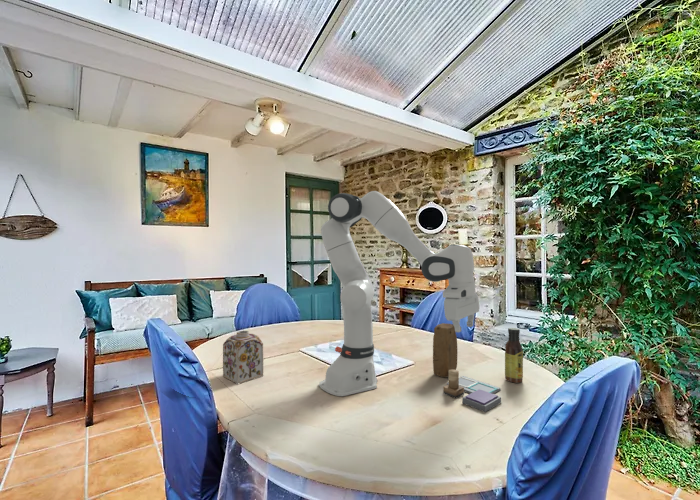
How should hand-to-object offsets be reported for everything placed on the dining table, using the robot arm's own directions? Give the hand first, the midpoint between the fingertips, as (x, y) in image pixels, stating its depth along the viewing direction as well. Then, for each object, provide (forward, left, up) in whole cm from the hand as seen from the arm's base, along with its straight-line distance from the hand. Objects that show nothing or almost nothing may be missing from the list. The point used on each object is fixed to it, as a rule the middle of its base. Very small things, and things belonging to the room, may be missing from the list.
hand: (464, 329), depth 122 cm
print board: (+6, 0, -22) cm, 23 cm away
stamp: (-4, +2, -22) cm, 23 cm away
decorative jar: (-54, +65, -23) cm, 87 cm away
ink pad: (-3, -8, -22) cm, 24 cm away
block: (+10, +15, -23) cm, 29 cm away
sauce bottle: (+24, -6, -23) cm, 34 cm away
